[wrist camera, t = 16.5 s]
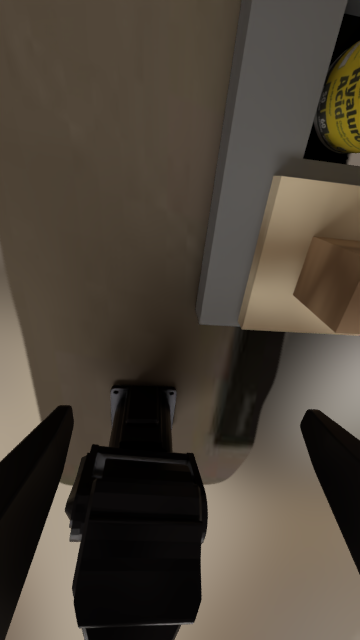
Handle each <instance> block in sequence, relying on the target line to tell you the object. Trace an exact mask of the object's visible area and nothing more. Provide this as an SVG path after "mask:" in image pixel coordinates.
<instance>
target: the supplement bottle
mask: <svg viewBox="0 0 360 640" xmlns="http://www.w3.org/2000/svg"><path fill="white" fill-rule="evenodd" d="M314 126H315V130H316V133H317V136H318V138H319V140H320V141H321V142H322V144H323V145H324V146H325V147H327V148H328V149H330V150H331V151H334V152H337V153H360V41H358V42H357V43H355V44H354V45H352V46H351V47H349V48H348V49H347V50H346V51H344V52H343V53H342V54H341V55H340V56H339V57H338V58H337V59H336V60H335V61H334V63H333V64H332V65H331V66H330V68H329V69H328V72H327V75H326V79H325V82H324V86H323V89H322V93H321V96H320V100H319V103H318V107H317V110H316V114H315V117H314Z"/></svg>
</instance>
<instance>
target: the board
mask: <svg viewBox="0 0 360 640" xmlns="http://www.w3.org/2000/svg"><path fill="white" fill-rule="evenodd" d="M344 13H345V14H349V15H354V16H359V17H360V0H242V1H241V8H240V15H239V21H238V28H237V35H236V41H235V48H234V55H233V61H232V68H231V75H230V81H229V88H228V95H227V101H226V108H225V115H224V122H223V128H222V135H221V142H220V148H219V155H218V162H217V168H216V175H215V182H214V188H213V195H212V202H211V208H210V215H209V222H208V228H207V235H206V242H205V248H204V255H203V262H202V268H201V275H200V282H199V289H198V295H197V302H196V309H195V310H196V314H197V318H198V321H199V324H201V325H220V326H238V327H240V325H239V323H238V318H239V314H240V310H241V306H242V302H243V298H244V294H245V289H246V285H247V281H248V277H249V273H250V269H251V265H252V261H253V257H254V253H255V249H256V245H257V241H258V237H259V232H260V228H261V224H262V220H263V216H264V212H265V208H266V204H267V200H268V196H269V192H270V188H271V184H272V180H273V176H286V177H294V178H302V179H309V180H317V181H325V182H333V183H341V184H348V185H356V186H360V167H359V166H352V165H345V164H338V163H331V162H323V161H316V160H308V159H303V156H304V153H305V149H306V146H307V142H308V139H309V135H310V131H311V128H312V124H313V121H314V117H315V114H316V110H317V107H318V103H319V100H320V96H321V93H322V89H323V86H324V82H325V79H326V75H327V72H328V68H329V65H330V61H331V58H332V54H333V51H334V47H335V43H336V40H337V36H338V33H339V29H340V26H341V22H342V19H343V15H344Z"/></svg>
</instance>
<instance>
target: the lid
mask: <svg viewBox="0 0 360 640" xmlns="http://www.w3.org/2000/svg"><path fill="white" fill-rule="evenodd" d="M238 323H239V325H240V327H241V328H242V329H246V330H264V331H282V332H301V333H302V332H303V333H319V334H337V335H355V336H360V186H356V185H348V184H341V183H333V182H325V181H317V180H309V179H302V178H294V177H286V176H273V180H272V184H271V188H270V192H269V196H268V200H267V204H266V208H265V212H264V216H263V220H262V224H261V228H260V232H259V237H258V241H257V245H256V249H255V253H254V257H253V261H252V265H251V269H250V273H249V277H248V281H247V285H246V289H245V294H244V298H243V302H242V306H241V310H240V314H239V318H238Z"/></svg>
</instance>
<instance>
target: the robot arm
mask: <svg viewBox="0 0 360 640" xmlns="http://www.w3.org/2000/svg"><path fill="white" fill-rule="evenodd" d="M115 390H117V391H115ZM176 394H177V393H176V388H174V387H155V386H113V387H112V388H111V418H112V431H111V437H110V442H109V447H105V446H99V445H95V444H92V447H91V451H90V453H87V455H86V456H84V457H82V458H81V462H80V466H79V469H78V473H77V476H76V479H75V482H74V485H73V487H72V490H71V493H70V495H69V498H68V500H67V503H66V507H65V512H66V514H67V516H68V518H69V519H70V525H69V527H70V528H71V533H70V542H81V543H80V548H79V553H78V559H77V564H76V569H75V574H74V580H73V585H72V591H73V596H74V607H75V613H76V619H77V624H78V627H79V628H82V632H83V636H84V640H174V639H175V637H176V635H177V633H178V631H179V629H180V626H181V625H182V624H193V623H194V621H195V619H196V616H197V612H198V609H199V606H200V603H201V564H200V563H201V562H200V561H201V559H200V557H201V544H202V543H203V541H204V539H205V536H206V530H207V519H208V512H207V511H208V509H207V499H206V493H205V489H204V486H203V483H202V480H201V476H200V473H199V470H198V467H197V463H196V460H195V457H194V454H193V453H187V454H184V453H173V452H172V434H171V430H172V424H173V416H174V409H175V401H176ZM73 425H74V419H73V412H72V407H71V406H70V405H60V406H58V407H57V408H56V409H55V410H54V411H53V412H51V413H50V414H49V415H48V416H47V417H46V418H45V419H44V420H43V421H42V422H41V423H40V424H39V425H38V426H37V427H36V428H35V429H34V430H33V431H32V432H31V433H30V434H29V435H28V436H27V437H25V438H24V439H23V440H22V441H21V442H20V443H19V444H18V445H17V446H16V447H15V448H14V449H13V450H12V451H11V452H10V453H9V454H8V455H7V456H6V457H5V458H4V459H3V460H2V461H1V462H0V640H5V637H6V634H7V632H8V629H9V626H10V623H11V620H12V617H13V614H14V611H15V608H16V606H17V603H18V600H19V597H20V594H21V591H22V588H23V585H24V583H25V580H26V577H27V574H28V571H29V568H30V565H31V562H32V560H33V557H34V553H35V551H36V548H37V545H38V542H39V539H40V537H41V533H42V531H43V527H44V525H45V522H46V519H47V516H48V513H49V510H50V507H51V505H52V502H53V499H54V496H55V493H56V490H57V488H58V485H59V482H60V479H61V476H62V473H63V469H64V465H65V461H66V456H67V452H68V448H69V443H70V439H71V435H72V430H73ZM300 427H301V431H302V434H303V438H304V441H305V444H306V447H307V450H308V452H309V456H310V459H311V462H312V465H313V467H314V470H315V473H316V475H317V477H318V479H319V482H320V484H321V486H322V489H323V491H324V493H325V496H326V498H327V500H328V503H329V505H330V507H331V510H332V512H333V514H334V516H335V519H336V521H337V523H338V526H339V528H340V530H341V532H342V535H343V537H344V539H345V542H346V544H347V546H348V549H349V551H350V553H351V556H352V558H353V560H354V562H355V565H356V567H357V569H358V572H359V574H360V440H358V439H357V438H355V437H354V436H353V435H352V434H350V433H349V432H348V431H346V430H345V429H344V428H342V427H341V426H340V425H338V424H337V423H336V422H334V421H333V420H332V419H330V418H329V417H328V416H326V415H325V414H324V413H322V412H321V411H320V410H315V409H313V410H312V409H309V410H307V411H306V413H305V415H304V417H303V419H302V421H301V424H300Z"/></svg>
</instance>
